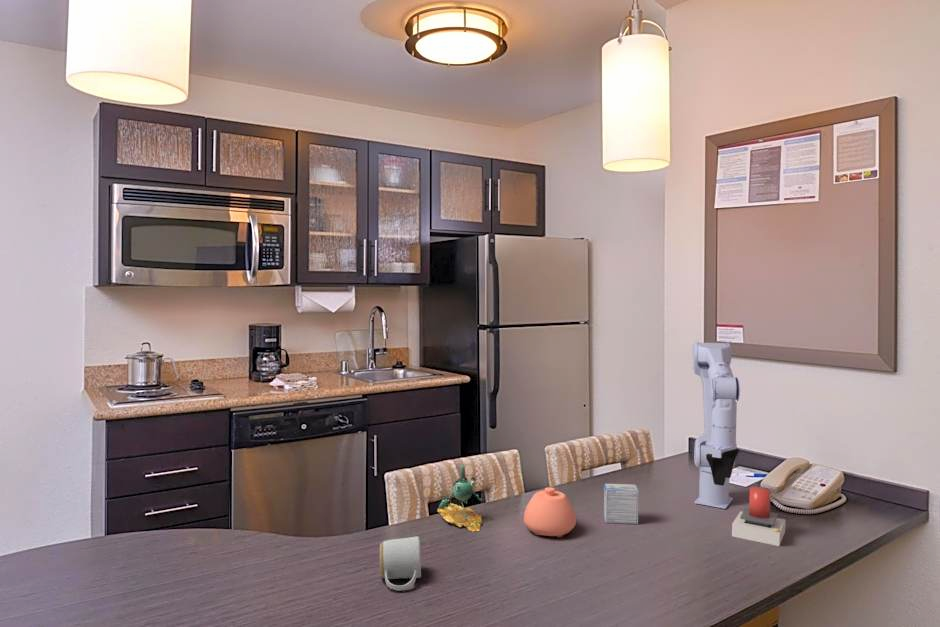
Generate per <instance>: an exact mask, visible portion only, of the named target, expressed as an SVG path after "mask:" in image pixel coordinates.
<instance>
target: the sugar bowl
mask: <svg viewBox="0 0 940 627" xmlns="http://www.w3.org/2000/svg"><path fill="white" fill-rule="evenodd" d="M576 517H577V516H576V514H575V511H574V507H573V505H572V504H571V501H570V500H569V498H568V497H567V495H566V494H565V493H563V492H562V491H558V490H556V489H555V488H554V487H552V486H549V487H544V490H539V491H536V492H535V493H534V494H532V497H531V498H530V500H529V501H528V504H527V505H526V507H525V510H524V514H523V522H524V525H525V526H526V527H527V529H529V531H530V532H532V533H533V534H534V535H535V534H536V536H547V537H555V536H556V538H562V537H563V536H564V535H567V534H569V533H570V532H571V531H572V530H573V529H574V527H575V526H576V523H577V521H576V520H577V519H576Z"/></svg>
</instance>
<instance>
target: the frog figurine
mask: <svg viewBox="0 0 940 627" xmlns="http://www.w3.org/2000/svg"><path fill="white" fill-rule="evenodd" d="M465 471H466V470H465V465H463V464H461V465H460V477H458V478H457V480H455V481H454V483H453V488H452V490H451V489H448V490H447V493H446V494H444V498H443V499H442V500H441V501H440V502H439V504H438V508H437V511H436V512H437V513H439V514H440V516H442V518H443V519H444V521H446V522H447V523H450V524H453V525H455V526H458V527H459V528H462V527H465V528H467V529H468V531H470V532H473V533H474V532H480V530H481V525H482V524H483V520H482V518H483V515H481V514H478V513H476V512H475V511H474V510H473V509H472V508H469V507H464V505H465V504H466V505H467V504H468V500H469V499H470V498H471V497H472V495H474V496H475V497H476V498H477V499H478V500H479V502H481V501H482V499H481V497H479V494H478V493H476V492H475V491H474V490H473V488H474V487H475V486H476V482H477V480H476V477H473V476H472V477H470V481H469V479H468V478H467V477H466V472H465ZM449 492H451V493H450V494H449ZM448 495H449V497H448ZM452 495H453V496H454V498H455V499H457V500H459V502H460V503H461V505H459V504H454V503H452V501H451V496H452Z"/></svg>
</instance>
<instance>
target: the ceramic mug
mask: <svg viewBox="0 0 940 627" xmlns="http://www.w3.org/2000/svg"><path fill="white" fill-rule="evenodd" d="M421 560H422V559H421V542H420V536H410V537H404V538H403V537H402V538H393V539H387V540H384V541H382V542H380V544H379V574H380V578H382V579H384V582H385V583H386V585H385V586H387V588H388V587H389V588H390V589H389V588H388V589H389V590H391V589H394V590H406V589H409V590H410V589H411V588H412V587H413V586H414V584H415V583H416V580H417V579H420V578H422V568H421V567H422V563H421V562H422V561H421ZM408 578H409V581H408V582H407V583H405V584H403V585H397V584H393V583H391V582H390V580H398V579H399V580H401V579H404V580H405V579H408Z"/></svg>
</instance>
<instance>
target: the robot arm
mask: <svg viewBox="0 0 940 627" xmlns="http://www.w3.org/2000/svg"><path fill="white" fill-rule="evenodd" d="M732 353H733V352H732V346H731V344H730V343H729V342H725V343H724V342H698V341H695V342H693V345H692V370H693V373H694V374H695V375H697V376H699V378H700V381H701V384H702V400H703V401H702V402H703V422H704V424H703V425H704V432H703V433H702V434H700V435H698V436H697V437H696V438H695V440H694V449H693V458H694V459H693V460H694V466H695V467H696V468H699V476H698V477H699V479H698V480H699V483H698V485H699V486H698V488H699V489H698V497H697V498H696V499H695V500H694V504H697V505H702V506H708V507H713V508H719V509H724V510H725V509H727V508H728V506H729V505H730V504H731V502H732V501H733V499H734V498H733V497H732V496H730V479H731V477H732V473H733V469H734V468H735V466H736V458H737V456H738V454H739V452H740V449H739V448H738V447H737V410H738V409H737V406H738V401H739V399H740V394H741V393H740V392H741V385H740V379H739V376H734V374H733V372H732V368H731V367H730V366H731V362H732V356H733V354H732Z"/></svg>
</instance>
